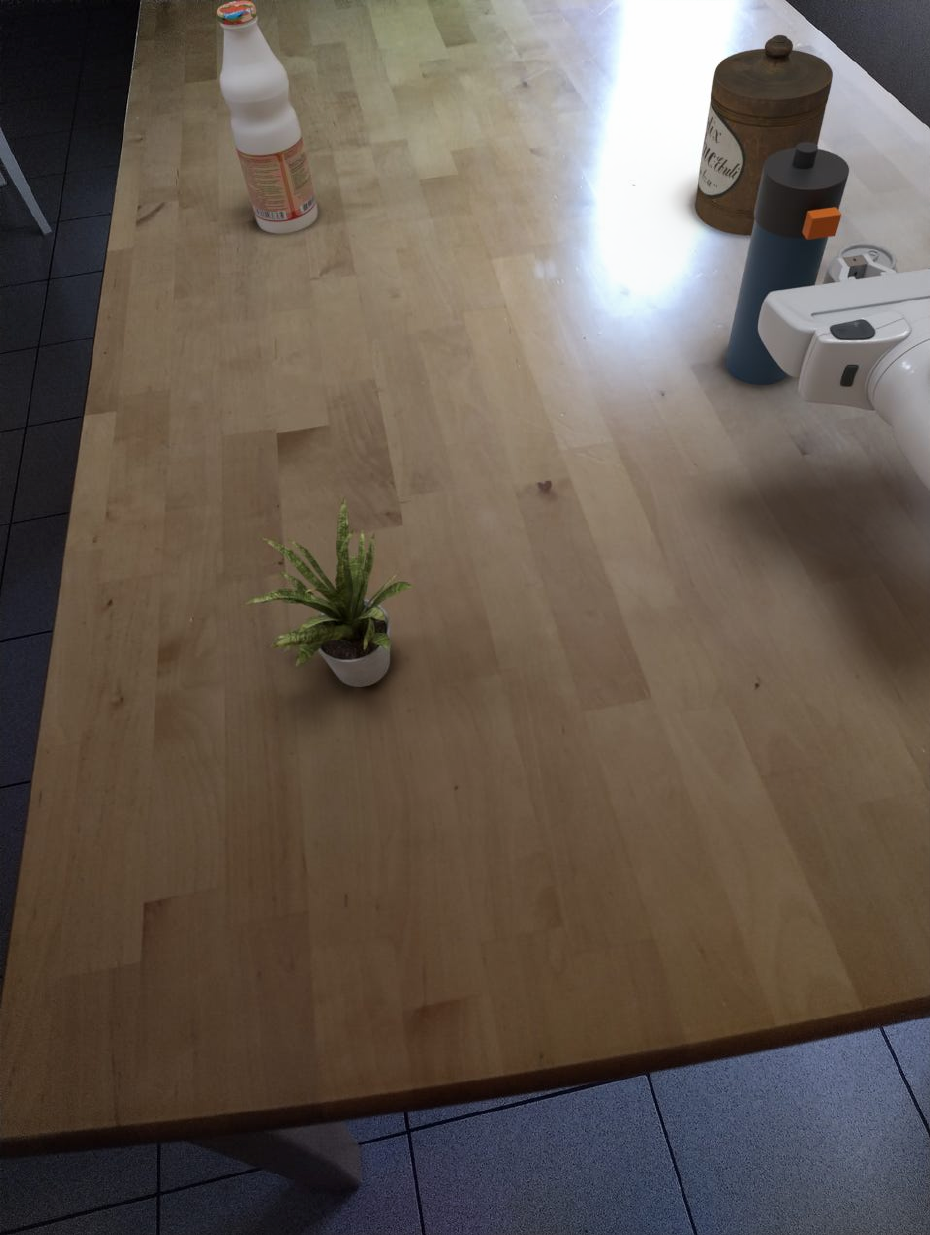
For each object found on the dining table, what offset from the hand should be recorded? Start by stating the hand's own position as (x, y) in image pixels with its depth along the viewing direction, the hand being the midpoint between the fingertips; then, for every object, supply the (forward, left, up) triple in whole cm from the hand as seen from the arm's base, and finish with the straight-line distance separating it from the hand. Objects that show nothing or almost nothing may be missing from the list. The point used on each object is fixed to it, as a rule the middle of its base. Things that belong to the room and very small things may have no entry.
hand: (848, 263), depth 79 cm
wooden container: (-21, -42, -22) cm, 52 cm away
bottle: (-3, -12, -21) cm, 25 cm away
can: (-14, -11, -22) cm, 28 cm away
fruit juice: (+39, -73, -22) cm, 85 cm away
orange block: (-2, -6, -1) cm, 7 cm away
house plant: (+54, +7, -22) cm, 58 cm away
